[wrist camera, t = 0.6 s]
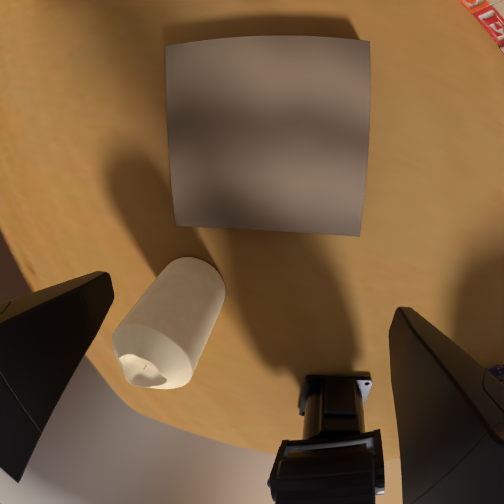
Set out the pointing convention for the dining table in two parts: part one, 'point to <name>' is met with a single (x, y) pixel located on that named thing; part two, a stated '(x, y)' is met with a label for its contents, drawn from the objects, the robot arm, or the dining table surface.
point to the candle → (170, 325)
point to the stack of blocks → (489, 17)
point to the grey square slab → (269, 132)
